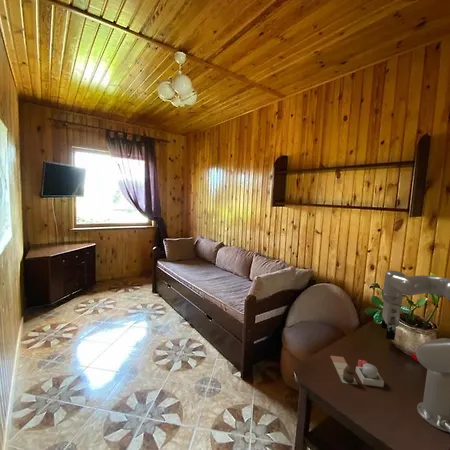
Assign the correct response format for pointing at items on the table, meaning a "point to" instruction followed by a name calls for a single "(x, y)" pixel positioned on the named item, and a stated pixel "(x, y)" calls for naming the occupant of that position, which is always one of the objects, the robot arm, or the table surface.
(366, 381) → the popper base
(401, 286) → the robot arm
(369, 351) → the table surface
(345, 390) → the table surface
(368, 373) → the dome
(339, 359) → the game board
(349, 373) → the pawn
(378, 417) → the table surface
